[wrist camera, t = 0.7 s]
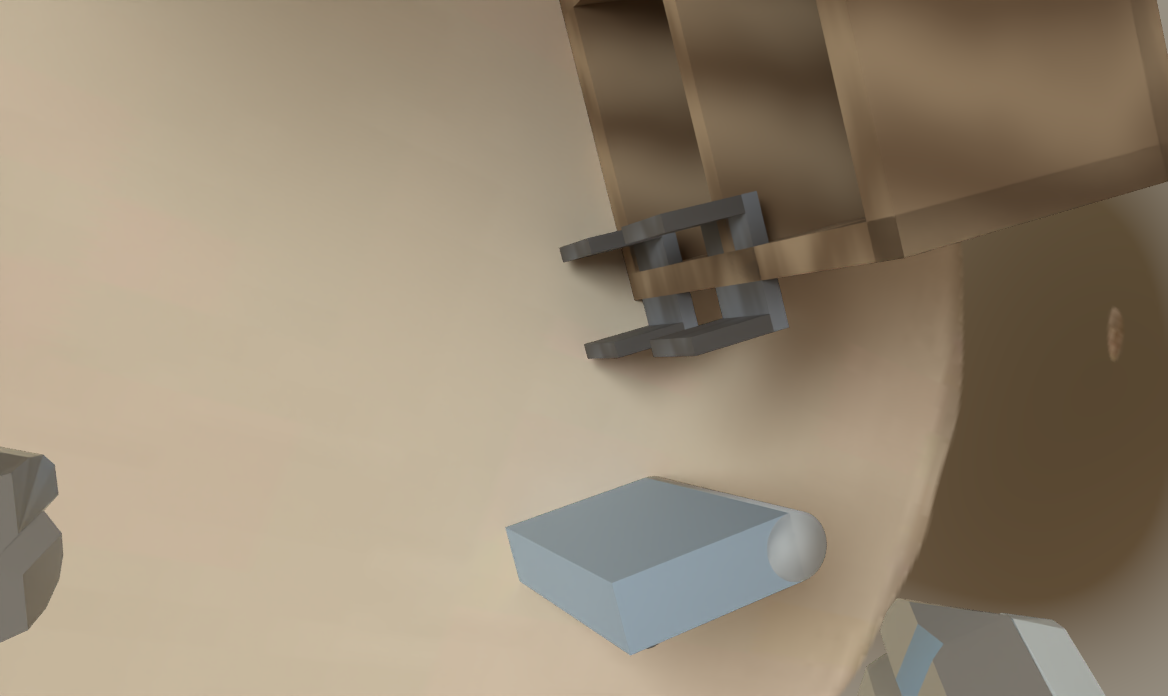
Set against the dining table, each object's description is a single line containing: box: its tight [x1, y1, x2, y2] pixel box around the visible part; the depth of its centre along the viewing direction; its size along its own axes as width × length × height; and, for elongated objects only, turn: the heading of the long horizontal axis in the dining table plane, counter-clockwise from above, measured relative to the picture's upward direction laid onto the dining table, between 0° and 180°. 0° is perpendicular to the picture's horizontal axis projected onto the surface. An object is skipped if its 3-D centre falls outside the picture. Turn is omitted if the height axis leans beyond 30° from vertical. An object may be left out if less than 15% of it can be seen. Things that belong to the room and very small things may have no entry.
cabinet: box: [559, 0, 1168, 359], centre depth 44 cm, size 20×19×22 cm
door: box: [506, 476, 827, 655], centre depth 46 cm, size 10×4×14 cm, turn 105°
